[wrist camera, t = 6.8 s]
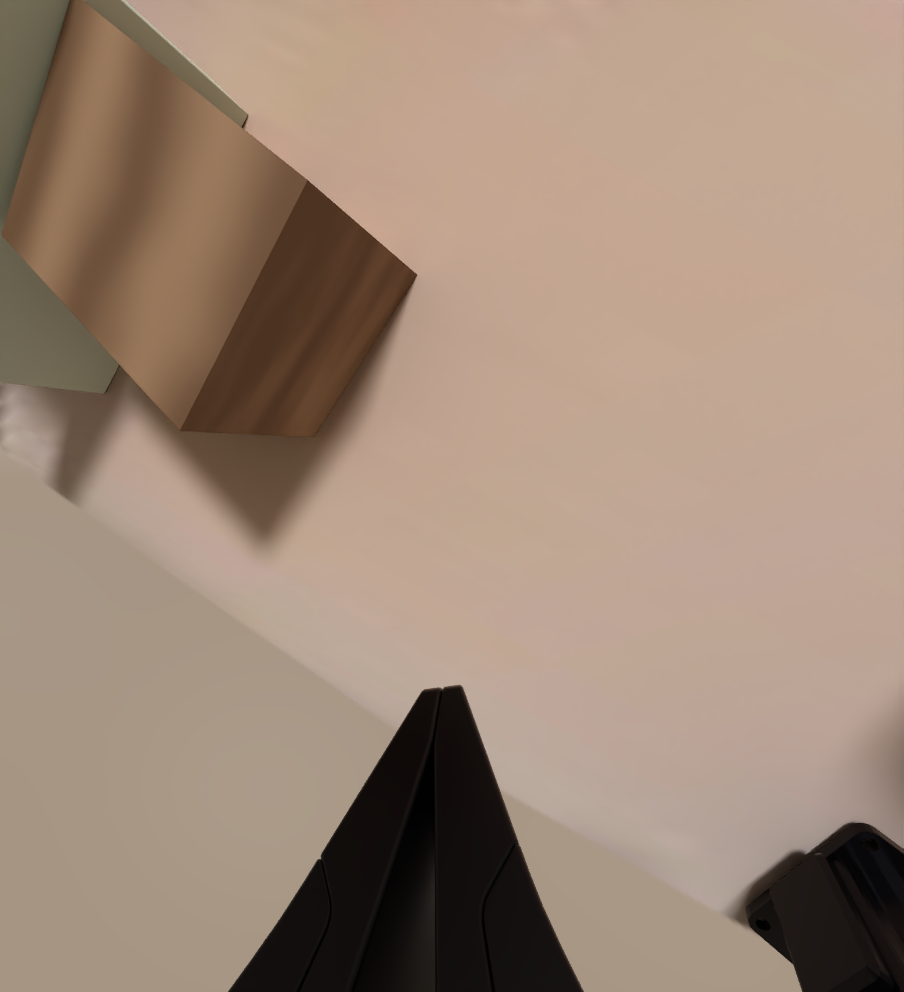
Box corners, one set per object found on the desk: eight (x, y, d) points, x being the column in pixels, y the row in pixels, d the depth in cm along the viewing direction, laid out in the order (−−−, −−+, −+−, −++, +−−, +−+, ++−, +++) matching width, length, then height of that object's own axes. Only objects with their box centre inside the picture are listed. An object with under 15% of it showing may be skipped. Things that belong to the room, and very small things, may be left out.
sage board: (248, 114, 23) (1, -108, 14) (104, 393, 30) (-128, 367, 21) (217, 83, 24) (-41, -150, 15) (82, 364, 30) (-153, 327, 21)
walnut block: (419, 276, 21) (307, 180, 13) (316, 437, 24) (179, 430, 17) (242, 134, 24) (71, -9, 16) (171, 294, 27) (1, 234, 20)
